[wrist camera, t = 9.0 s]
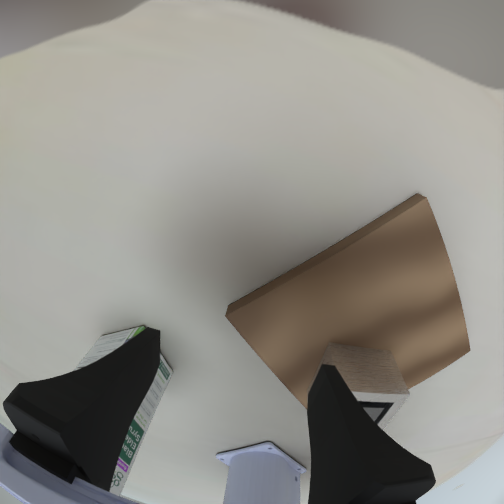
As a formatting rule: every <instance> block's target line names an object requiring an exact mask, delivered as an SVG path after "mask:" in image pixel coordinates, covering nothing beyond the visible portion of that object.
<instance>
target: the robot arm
mask: <svg viewBox="0 0 504 504" xmlns="http://www.w3.org/2000/svg"><path fill="white" fill-rule="evenodd" d="M159 365H160V331H159V330H156V329H152V328H149V327H147V328H145V329H144V330H143V331H141V332H140V333H138V334H137V335H136V336H134V337H133V338H132V339H130V340H129V341H127V342H126V343H124V344H123V345H121V346H120V347H119V348H117V349H116V350H114V351H112V352H111V353H109V354H107V355H106V356H104V357H102V358H101V359H99V360H97V361H95V362H93V363H91V364H89V365H87V366H85V367H83V368H80V369H78V370H75V371H72V372H70V373H67V374H64V375H61V376H57V377H54V378H50V379H45V380H40V381H34V382H27V383H19V384H18V385H17V386H16V387H15V389H14V390H13V391H12V392H11V393H10V395H9V396H8V397H7V398H6V399H5V401H4V402H3V407H4V410H5V412H6V414H7V416H8V417H9V419H10V420H11V422H12V423H13V425H14V426H15V428H16V429H17V431H16V432H15V434H13V433H12V432H11V431H10V430H8V429H7V428H6V427H5V426H3V425H2V424H1V423H0V486H1V487H2V488H4V489H5V490H6V491H7V492H9V493H10V494H11V495H13V496H14V497H15V498H17V499H18V500H19V501H21V502H22V503H24V504H139V503H136V502H133V501H131V500H128V499H125V498H123V497H120V496H117V495H115V494H112V493H110V487H111V484H112V480H113V476H114V472H115V469H116V465H117V462H118V459H119V455H120V453H121V450H122V447H123V444H124V441H125V438H126V436H127V433H128V430H129V428H130V425H131V423H132V421H133V418H134V416H135V415H136V413H137V411H138V409H139V407H140V405H141V403H142V402H143V400H144V398H145V396H146V394H147V392H148V391H149V389H150V387H151V385H152V383H153V381H154V378H155V376H156V373H157V371H158V368H159ZM307 416H308V426H309V437H310V447H311V478H310V491H309V500H308V504H416V500H417V499H418V498H419V497H421V496H422V495H424V494H425V493H426V492H428V491H429V490H430V489H431V488H432V487H433V486H434V485H435V482H436V480H435V477H434V473H433V470H432V467H431V465H430V464H428V463H426V462H425V461H423V460H421V459H419V458H418V457H416V456H414V455H413V454H411V453H410V452H408V451H407V450H406V449H404V448H403V447H401V446H400V445H399V444H398V443H396V442H395V441H394V440H393V439H392V438H391V437H389V436H388V435H387V434H386V433H385V432H384V431H383V430H382V429H381V428H380V427H379V426H378V425H377V424H376V423H375V422H374V421H373V419H372V418H371V417H370V416H369V415H368V413H367V412H366V411H365V410H364V408H363V407H362V406H361V404H360V403H359V402H358V400H357V399H356V398H355V396H354V395H353V393H352V392H351V390H350V389H349V387H348V386H347V384H346V383H345V381H344V379H343V378H342V376H341V375H340V373H339V371H338V370H337V368H336V367H335V365H327V364H322V365H321V367H320V369H319V371H318V374H317V376H316V378H315V380H314V382H313V384H312V386H311V389H310V391H309V393H308V404H307ZM216 458H217V459H219V460H220V461H222V462H223V463H225V464H226V465H228V466H229V472H228V478H227V484H226V490H225V496H224V502H223V504H300V474H301V473H305V472H306V468H304V467H303V466H301V465H300V464H299V463H297V462H296V461H294V460H293V459H292V458H290V457H289V456H288V455H286V454H285V453H284V452H282V451H281V450H280V449H279V448H277V447H276V446H275V445H273V444H272V443H270V442H266V443H262V444H258V445H254V446H251V447H246V448H242V449H238V450H234V451H229V452H224V453H219V454H217V455H216Z"/></svg>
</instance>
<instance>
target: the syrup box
mask: <svg viewBox="0 0 504 504" xmlns="http://www.w3.org/2000/svg"><path fill="white" fill-rule="evenodd" d="M144 329H145V327H144V326H141V327H137V328H132V329H128V330H124V331H120V332H116V333H112V334H108V335H104V336H101V337H100V338H99V339H98V341H97V342H96V343H95V344H94V346H93V347H92V348H91V349H90V351H89V352H88V353H87V354H86V355H85V357H84V358H83V359H82V360H81V362H80V363H79V364H78V366H77V367H76V368H75V369H74V371H75V370H78V369H80V368H83V367H85V366H87V365H89V364H91V363H93V362H95V361H97V360H99V359H101V358H102V357H104V356H106V355H107V354H109V353H111V352H112V351H114V350H116V349H117V348H119V347H120V346H121V345H123V344H124V343H126V342H127V341H129V340H130V339H132V338H133V337H134V336H136V335H137V334H138V333H140V332H141V331H143V330H144ZM172 372H173V371H172V369H171V368H170V367H169V366H168V364H167V363H166V361H165V359H164V358H163V356H162V355H161V353H160V365H159V368H158V371H157V373H156V376H155V378H154V381H153V383H152V385H151V387H150V389H149V391H148V392H147V394H146V396H145V398H144V400H143V402H142V403H141V405H140V407H139V409H138V411H137V413H136V415H135V416H134V418H133V421H132V423H131V425H130V428H129V430H128V433H127V436H126V438H125V441H124V444H123V447H122V450H121V453H120V455H119V459H118V462H117V465H116V469H115V472H114V476H113V480H112V484H111V487H110V493H112V494H115V495H117V496H120V494H121V492H122V489H123V487H124V485H125V482H126V480H127V477H128V475H129V473H130V470H131V468H132V465H133V463H134V460H135V458H136V455H137V453H138V451H139V448H140V446H141V443H142V441H143V439H144V436H145V434H146V432H147V429H148V427H149V425H150V422H151V420H152V418H153V415H154V413H155V411H156V408H157V406H158V404H159V402H160V399H161V397H162V395H163V393H164V391H165V388H166V386H167V384H168V382H169V380H170V378H171V376H172Z"/></svg>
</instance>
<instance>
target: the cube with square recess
mask: <svg viewBox="0 0 504 504" xmlns="http://www.w3.org/2000/svg"><path fill="white" fill-rule="evenodd" d="M322 364H327V365H335V367H336V368H337V370H338V371H339V373H340V375H341V376H342V378H343V379H344V381H345V383H346V384H347V386H348V387H349V389H350V390H351V392H352V393H353V395H354V396H355V398H356V399H357V400H358V401H368V402H383V405H384V409H383V411H382V412H381V413H380V415H379V416H378V417H377V419H376V420H375V421H374V422H375V423H376V424H377V425H378V426H379V427H380V428H381V429H382V430H383V429H384V428H385V426H386V425H387V424H388V423H389V421H390V420H391V419H392V418H393V416H394V415H395V414H396V413H397V411H398V410H399V409H400V407H401V406H402V405H403V403H404V402H405V401H406V399H407V398H408V397H409V395H410V393H409V391H408V388H407V386H406V384H405V381H404V379H403V377H402V374H401V372H400V370H399V368H398V365H397V363H396V361H395V359H394V356H393V354H392V352H391V351H387V350H379V349H371V348H364V347H357V346H350V345H343V344H336V343H330V342H329V344H328V346H327V348H326V350H325V353H324V355H323V357H322V359H321V362H320V364H319V366H318V368H317V370H316V372H315V374H314V377H313V379H312V381H311V383H310V385H309V387H308V389H307V403H308V393H309V391H310V389H311V386H312V384H313V382H314V380H315V378H316V376H317V374H318V371H319V369H320V367H321V365H322Z"/></svg>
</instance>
